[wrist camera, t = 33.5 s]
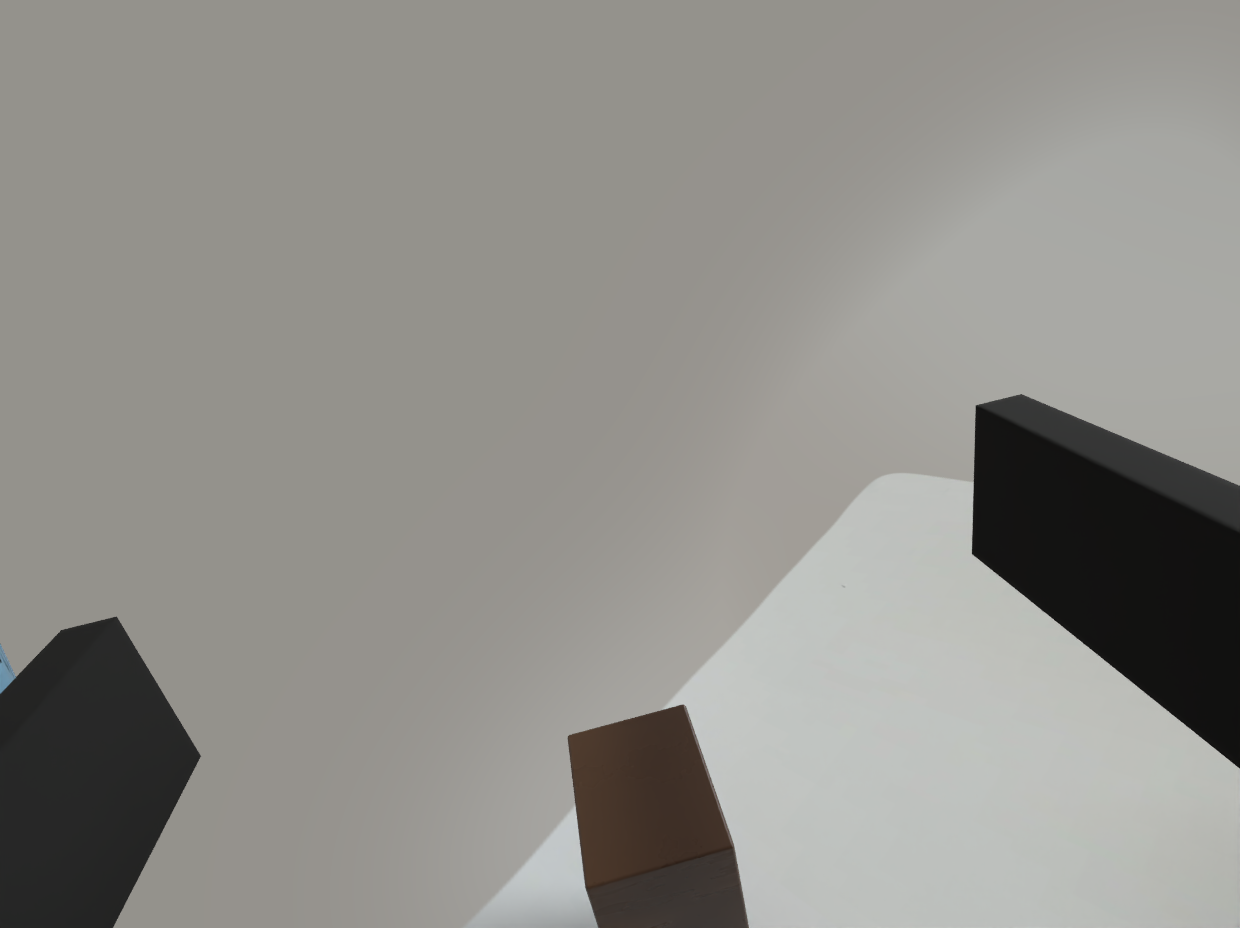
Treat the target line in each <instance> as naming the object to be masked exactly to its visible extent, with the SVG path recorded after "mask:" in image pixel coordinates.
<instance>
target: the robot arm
mask: <svg viewBox="0 0 1240 928" xmlns="http://www.w3.org/2000/svg"><path fill="white" fill-rule="evenodd" d="M975 421H976V422H975V458H974V459H975V460H974V496H973V535H972V554H973V555H974V556H975V557H976V558H978V559H979V560H980V561H981V562H983V563H984V564H985V565H986V566H988V567H989V568H990V569H991V570H993V571H994V572H995V573H996V574H998V575H999V576H1000V577H1001V578H1003V579H1004V580H1005V581H1006V582H1008V583H1009V584H1010V585H1011V586H1013V587H1014V588H1015V589H1016V590H1018V591H1019V592H1020V593H1021V594H1023V595H1024V596H1025V597H1026V598H1028V599H1029V600H1030V601H1031V602H1033V603H1034V604H1035V605H1036V606H1038V607H1039V608H1040V609H1041V610H1043V611H1044V612H1045V613H1046V614H1048V615H1049V616H1050V617H1051V618H1053V619H1054V620H1055V621H1056V622H1058V623H1059V624H1060V625H1061V626H1063V627H1064V628H1065V629H1066V630H1068V631H1069V632H1070V633H1071V634H1073V635H1074V636H1075V637H1076V638H1078V639H1079V640H1080V641H1081V642H1083V643H1084V644H1085V645H1086V646H1088V647H1089V648H1090V649H1091V650H1093V651H1094V652H1095V653H1096V654H1098V655H1099V656H1100V657H1101V658H1103V659H1104V660H1105V661H1106V662H1108V663H1109V664H1110V665H1111V666H1112V667H1114V668H1115V669H1116V670H1117V671H1119V672H1120V673H1121V674H1122V675H1124V676H1125V677H1126V678H1127V679H1129V680H1130V681H1131V682H1132V683H1134V684H1135V685H1136V686H1137V687H1139V688H1140V689H1141V690H1142V691H1144V692H1145V693H1146V694H1147V695H1149V696H1150V697H1151V698H1152V699H1154V700H1155V701H1156V702H1157V703H1159V704H1160V705H1161V706H1162V707H1164V708H1165V709H1166V710H1167V711H1169V712H1170V713H1171V714H1172V715H1174V716H1175V717H1176V718H1177V719H1179V720H1180V721H1181V722H1182V723H1184V724H1185V725H1186V726H1187V727H1189V728H1190V729H1191V730H1192V731H1194V732H1195V733H1196V734H1197V735H1199V736H1200V737H1201V738H1202V739H1204V740H1205V741H1206V742H1207V743H1209V744H1210V745H1211V746H1212V747H1214V748H1215V749H1216V750H1217V751H1219V752H1220V753H1221V754H1222V755H1224V756H1225V757H1226V758H1227V759H1229V760H1230V761H1231V762H1232V763H1234V764H1235V765H1236V766H1237V767H1239V768H1240V486H1238V485H1236V484H1234V483H1231V482H1229V481H1227V480H1224V479H1222V478H1220V477H1217V476H1215V475H1212V474H1210V473H1207V472H1205V471H1203V470H1201V469H1198V468H1196V467H1193V466H1191V465H1189V464H1186V463H1184V462H1181V461H1179V460H1177V459H1174V458H1172V457H1169V456H1167V455H1165V454H1162V453H1160V452H1157V451H1155V450H1153V449H1150V448H1148V447H1146V446H1143V445H1141V444H1139V443H1136V442H1134V441H1131V440H1129V439H1127V438H1124V437H1122V436H1119V435H1117V434H1115V433H1112V432H1110V431H1108V430H1105V429H1103V428H1100V427H1098V426H1096V425H1093V424H1091V423H1088V422H1086V421H1084V420H1081V419H1079V418H1077V417H1074V416H1072V415H1070V414H1067V413H1065V412H1062V411H1060V410H1057V409H1055V408H1053V407H1050V406H1048V405H1046V404H1043V403H1041V402H1039V401H1036V400H1034V399H1031V398H1029V397H1027V396H1024V395H1022V394H1021V395H1016V396H1013V397H1008V398H1005V399H1001V400H996V401H992V402H988V403H984V404H980V405H976V418H975ZM200 757H201V756H200V754H199V752H198V751H197V749H196V747H195V746H194V744H193V743H192V741H191V739H190V737H189V736H188V734H187V732H186V731H185V729H184V728H183V726H182V724H181V723H180V721H179V719H178V718H177V716H176V714H175V713H174V711H173V709H172V708H171V706H170V704H169V703H168V701H167V699H166V698H165V696H164V694H163V693H162V691H161V689H160V688H159V686H158V684H157V683H156V681H155V679H154V678H153V676H152V675H151V673H150V671H149V669H148V668H147V666H146V664H145V663H144V661H143V660H142V658H141V656H140V655H139V653H138V651H137V650H136V648H135V646H134V645H133V643H132V641H131V640H130V638H129V636H128V635H127V633H126V631H125V630H124V628H123V626H122V625H121V623H120V621H119V620H118V618H117V617H113V618H110V619H105V620H101V621H97V622H93V623H89V624H85V625H81V626H76V627H72V628H68V629H64V630H61V631H60V633H58V634H57V636H55V637H54V638H53V640H52V641H51V642H50V643H49V644H48V645H47V646H46V647H45V648H44V649H43V650H42V651H41V652H40V653H39V654H38V655H37V656H36V657H35V658H34V659H33V660H32V661H31V662H30V663H29V664H28V665H27V667H26V668H25V669H24V670H23V671H22V672H21V673H20V674H19V675H18V676H17V677H16V676H15V674H14V672H13V670H12V668H11V666H10V663H9V661H8V659H7V657H6V655H5V653H4V650H3V649H2V646H1V644H0V928H113V926H114V924H115V923H116V921H117V919H118V916H119V915H120V913H121V911H122V909H123V907H124V905H125V903H126V901H127V899H128V897H129V895H130V893H131V891H132V889H133V887H134V885H135V884H136V882H137V880H138V878H139V876H140V874H141V872H142V870H143V868H144V866H145V864H146V862H147V860H148V858H149V856H150V854H151V852H152V850H153V848H154V846H155V845H156V842H157V840H158V838H159V837H160V835H161V833H162V831H163V829H164V827H165V825H166V823H167V821H168V819H169V817H170V815H171V813H172V811H173V809H174V807H175V806H176V804H177V802H178V800H179V798H180V796H181V794H182V792H183V790H184V788H185V786H186V784H187V782H188V780H189V778H190V776H191V774H192V772H193V770H194V768H195V766H196V765H197V762H198V761H199V759H200Z"/></svg>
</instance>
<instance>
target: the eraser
mask: <svg viewBox="0 0 1240 928" xmlns="http://www.w3.org/2000/svg"><path fill="white" fill-rule="evenodd" d="M568 744H569V753H570V762H571V770H572V779H573V787H574V795H575V804H576V812H577V821H578V829H579V838H580V846H581V855H582V863H583V871H584V880H585V888H586V891H587V894H588V897H589V900H590V903H591V906H592V910H593V913H594V916H595V919H596V922H597V925H598V928H749V925H748V920H747V914H746V909H745V903H744V898H743V892H742V886H741V881H740V875H739V870H738V864H737V859H736V853H735V848H734V844H733V841H732V838H731V835H730V832H729V829H728V826H727V824H726V821H725V818H724V815H723V812H722V809H721V806H720V803H719V801H718V798H717V795H716V792H715V789H714V786H713V783H712V780H711V778H710V775H709V772H708V769H707V766H706V763H705V760H704V757H703V754H702V752H701V749H700V746H699V743H698V740H697V737H696V734H695V731H694V729H693V726H692V723H691V720H690V717H689V714H688V711H687V708H686V706H685V705H679V706H676V707H672V708H668V709H665V710H661V711H657V712H654V713H650V714H646V715H643V716H639V717H635V718H631V719H628V720H624V721H620V722H617V723H613V724H609V725H605V726H601V727H598V728H594V729H590V730H587V731H583V732H579V733H575V734H572V735H569V736H568Z"/></svg>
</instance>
